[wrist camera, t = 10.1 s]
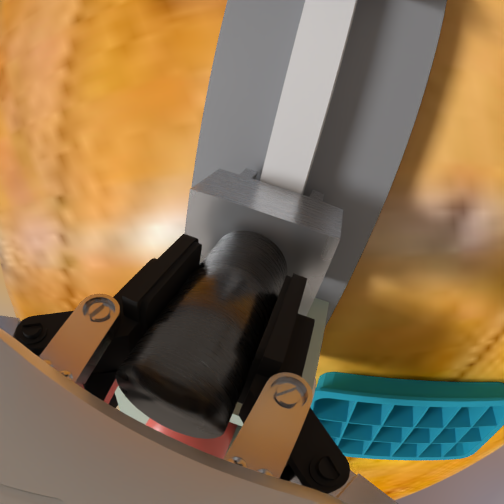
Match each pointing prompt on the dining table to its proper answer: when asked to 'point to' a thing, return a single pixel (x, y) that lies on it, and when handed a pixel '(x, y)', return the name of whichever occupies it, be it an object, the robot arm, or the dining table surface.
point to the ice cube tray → (407, 416)
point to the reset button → (200, 439)
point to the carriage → (227, 298)
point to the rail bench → (317, 115)
